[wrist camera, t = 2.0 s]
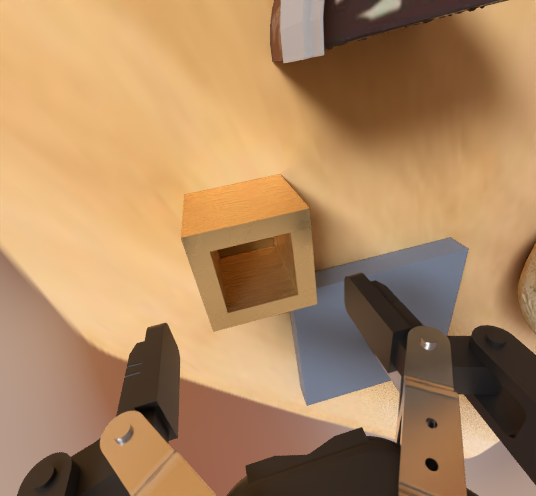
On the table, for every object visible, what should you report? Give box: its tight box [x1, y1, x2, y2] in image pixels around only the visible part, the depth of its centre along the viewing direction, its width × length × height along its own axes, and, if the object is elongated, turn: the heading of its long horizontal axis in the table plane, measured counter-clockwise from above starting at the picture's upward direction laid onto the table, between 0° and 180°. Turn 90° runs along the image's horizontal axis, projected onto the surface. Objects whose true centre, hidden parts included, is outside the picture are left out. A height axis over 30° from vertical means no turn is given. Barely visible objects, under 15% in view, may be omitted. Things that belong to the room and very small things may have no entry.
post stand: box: [290, 237, 469, 406], centre depth 26 cm, size 15×15×8 cm
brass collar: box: [181, 174, 317, 332], centre depth 19 cm, size 6×6×6 cm
